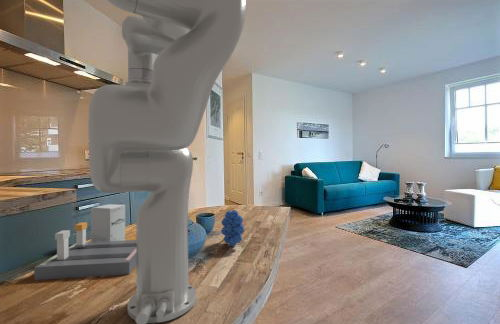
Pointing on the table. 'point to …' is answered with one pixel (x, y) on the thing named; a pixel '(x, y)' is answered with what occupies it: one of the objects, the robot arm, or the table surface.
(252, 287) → the table surface
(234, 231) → the grapes
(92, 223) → the supplement box
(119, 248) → the switch panel
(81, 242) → the lever
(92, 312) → the table surface
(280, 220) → the table surface
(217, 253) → the table surface
